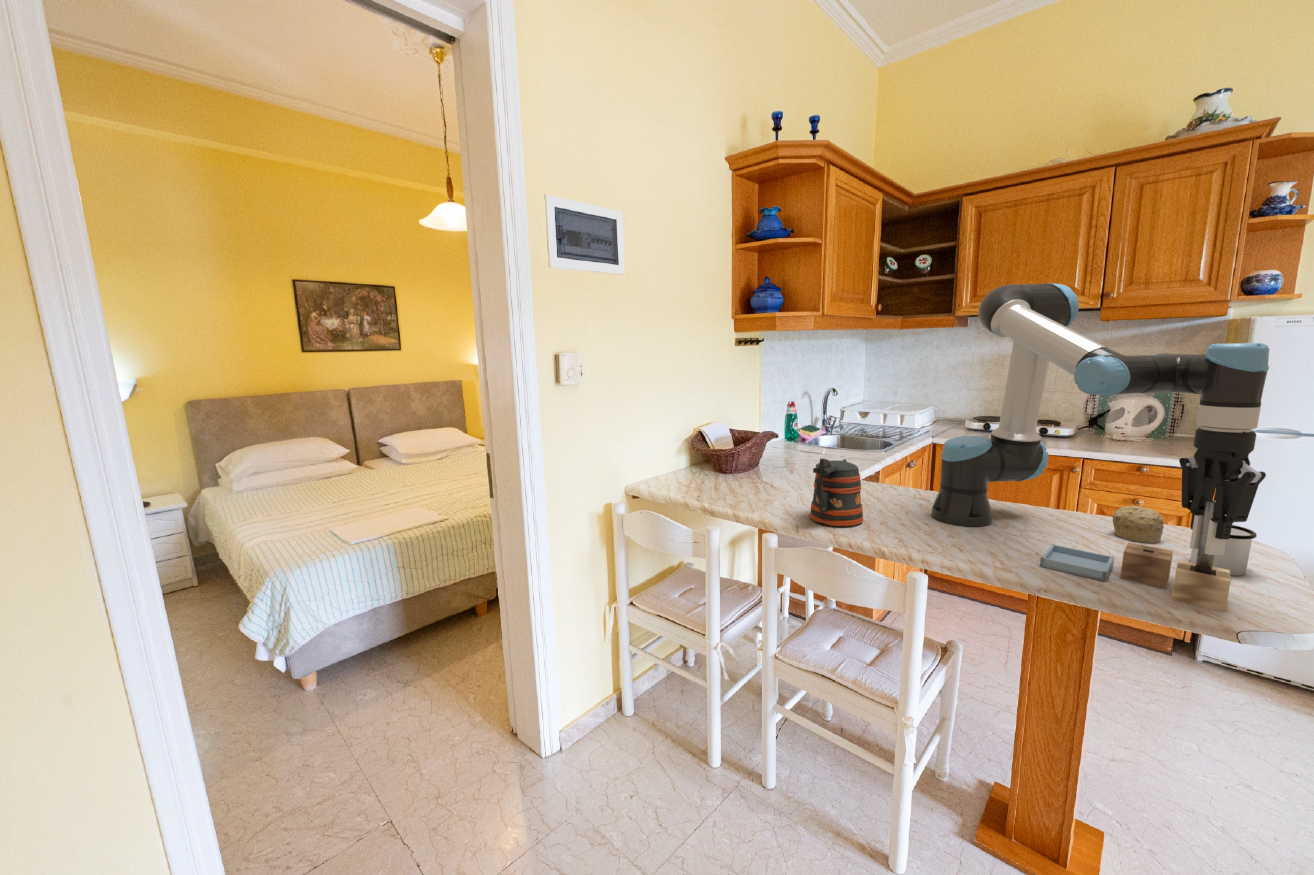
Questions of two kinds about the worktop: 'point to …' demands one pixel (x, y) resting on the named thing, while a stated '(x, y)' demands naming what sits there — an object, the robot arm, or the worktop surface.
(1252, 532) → the mug
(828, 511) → the beer stein
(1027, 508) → the worktop surface
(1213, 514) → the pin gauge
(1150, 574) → the walnut block
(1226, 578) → the oak block
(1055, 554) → the tray
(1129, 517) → the coral
